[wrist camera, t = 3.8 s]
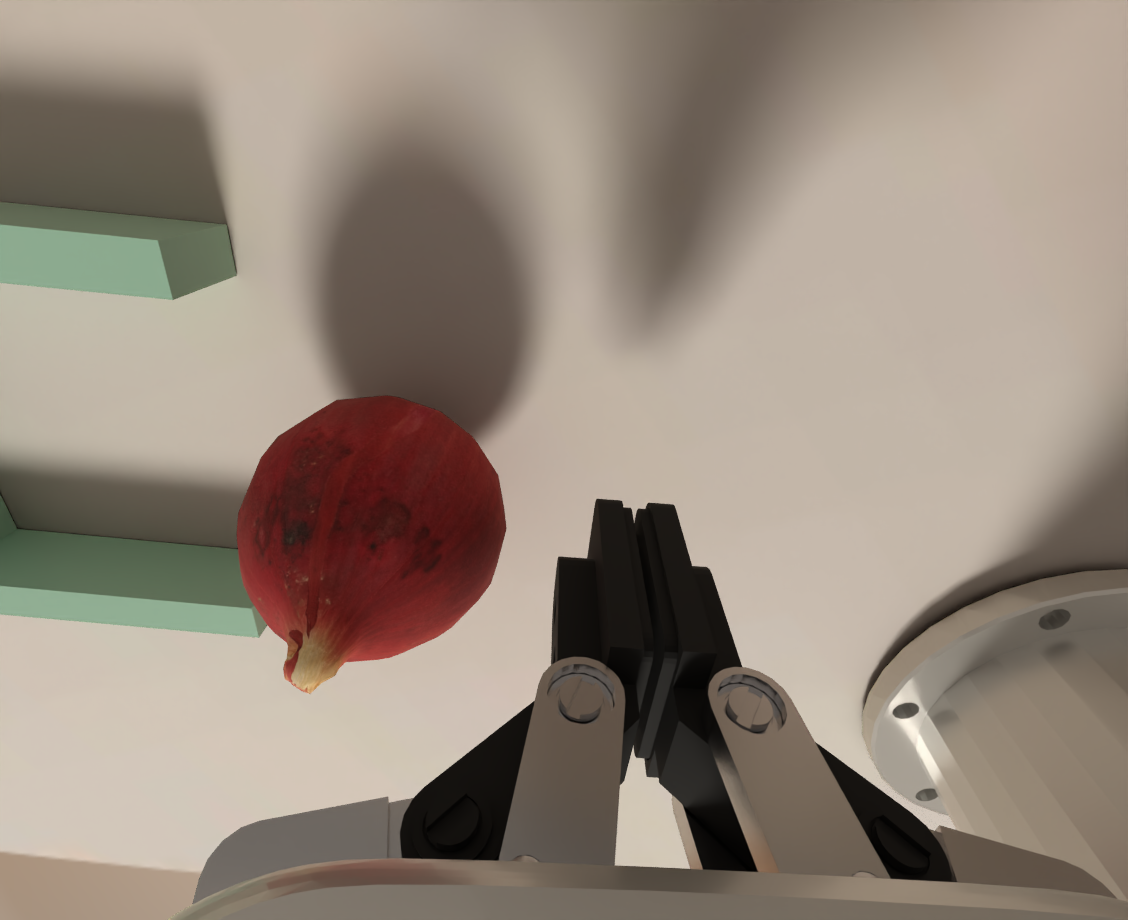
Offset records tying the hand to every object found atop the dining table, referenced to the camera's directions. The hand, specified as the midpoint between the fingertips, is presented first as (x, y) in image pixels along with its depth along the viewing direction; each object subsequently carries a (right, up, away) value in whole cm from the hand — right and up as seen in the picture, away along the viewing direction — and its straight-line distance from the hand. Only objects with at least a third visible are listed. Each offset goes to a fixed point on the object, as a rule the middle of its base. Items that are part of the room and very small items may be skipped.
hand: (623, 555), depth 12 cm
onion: (-6, +3, +4) cm, 7 cm away
